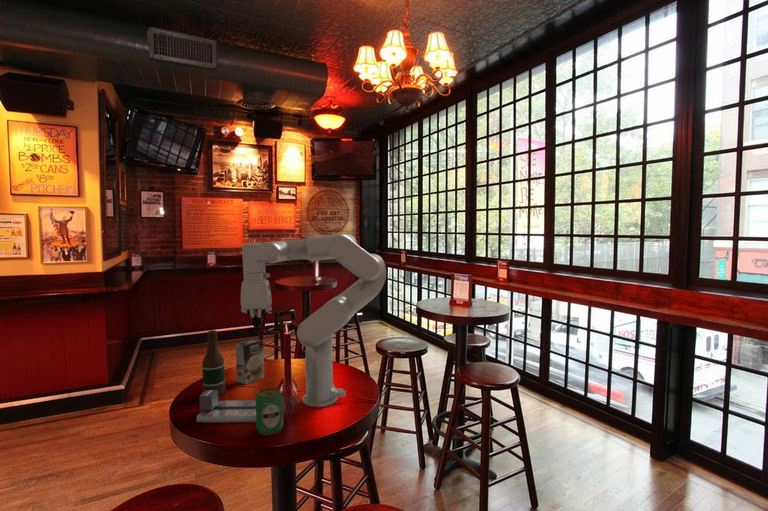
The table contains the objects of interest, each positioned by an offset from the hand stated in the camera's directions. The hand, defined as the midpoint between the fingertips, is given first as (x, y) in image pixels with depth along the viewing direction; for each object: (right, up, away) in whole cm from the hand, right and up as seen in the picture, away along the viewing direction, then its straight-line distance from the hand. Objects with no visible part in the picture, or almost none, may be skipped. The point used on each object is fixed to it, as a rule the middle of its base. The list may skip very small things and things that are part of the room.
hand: (257, 327), depth 147 cm
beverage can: (+11, -28, -21) cm, 37 cm away
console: (-2, -27, -10) cm, 29 cm away
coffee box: (-9, -25, +21) cm, 34 cm away
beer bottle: (-18, -26, +7) cm, 33 cm away
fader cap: (-13, -25, -10) cm, 30 cm away
